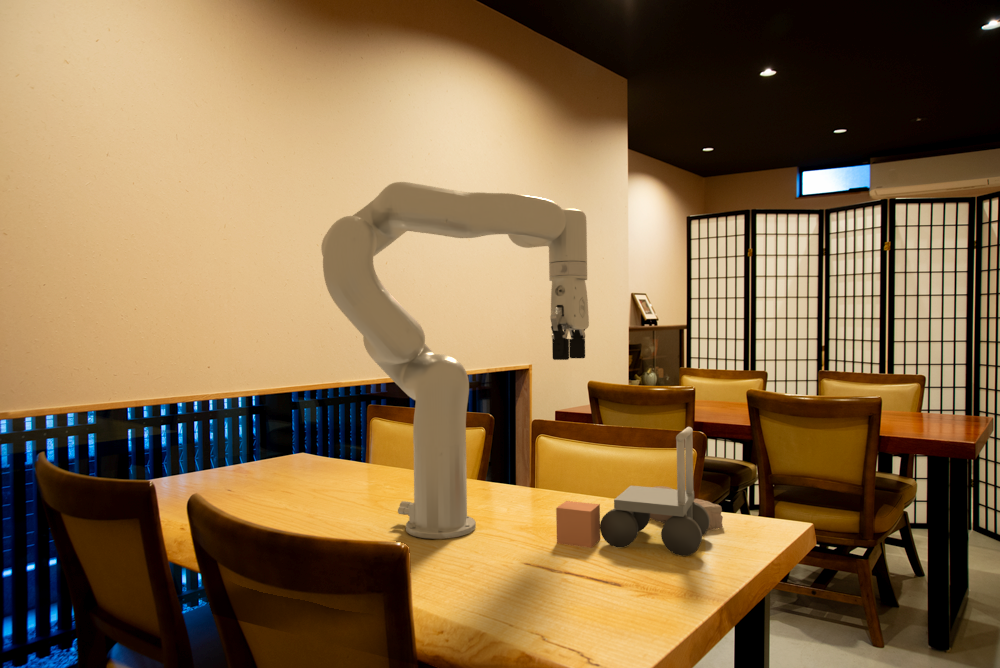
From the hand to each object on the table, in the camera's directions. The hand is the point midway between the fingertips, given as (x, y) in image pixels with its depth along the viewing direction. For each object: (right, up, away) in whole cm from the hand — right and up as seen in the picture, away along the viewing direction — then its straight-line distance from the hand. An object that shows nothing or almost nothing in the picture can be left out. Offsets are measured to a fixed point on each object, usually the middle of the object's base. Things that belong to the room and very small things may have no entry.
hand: (569, 358), depth 125 cm
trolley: (+12, -30, -19) cm, 38 cm away
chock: (0, -30, -18) cm, 35 cm away
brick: (+20, -31, -6) cm, 37 cm away
